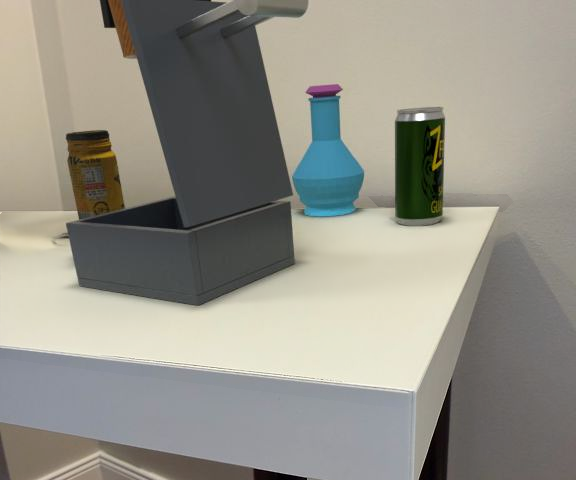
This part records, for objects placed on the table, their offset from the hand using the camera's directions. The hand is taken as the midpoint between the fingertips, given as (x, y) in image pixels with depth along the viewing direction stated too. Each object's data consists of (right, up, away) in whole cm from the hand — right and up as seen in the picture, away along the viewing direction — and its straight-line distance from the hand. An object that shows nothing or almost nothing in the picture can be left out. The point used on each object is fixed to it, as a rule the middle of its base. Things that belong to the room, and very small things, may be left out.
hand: (156, 21), depth 54 cm
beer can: (+26, -11, +21) cm, 36 cm away
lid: (+5, -8, -2) cm, 10 cm away
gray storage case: (+2, -20, +7) cm, 21 cm away
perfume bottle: (+16, -8, +31) cm, 36 cm away
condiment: (-14, -10, +32) cm, 36 cm away
